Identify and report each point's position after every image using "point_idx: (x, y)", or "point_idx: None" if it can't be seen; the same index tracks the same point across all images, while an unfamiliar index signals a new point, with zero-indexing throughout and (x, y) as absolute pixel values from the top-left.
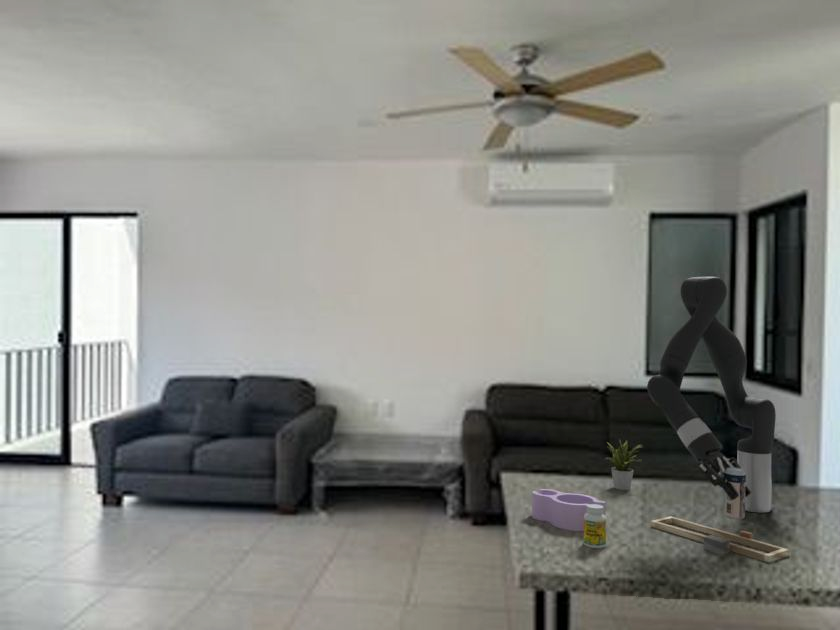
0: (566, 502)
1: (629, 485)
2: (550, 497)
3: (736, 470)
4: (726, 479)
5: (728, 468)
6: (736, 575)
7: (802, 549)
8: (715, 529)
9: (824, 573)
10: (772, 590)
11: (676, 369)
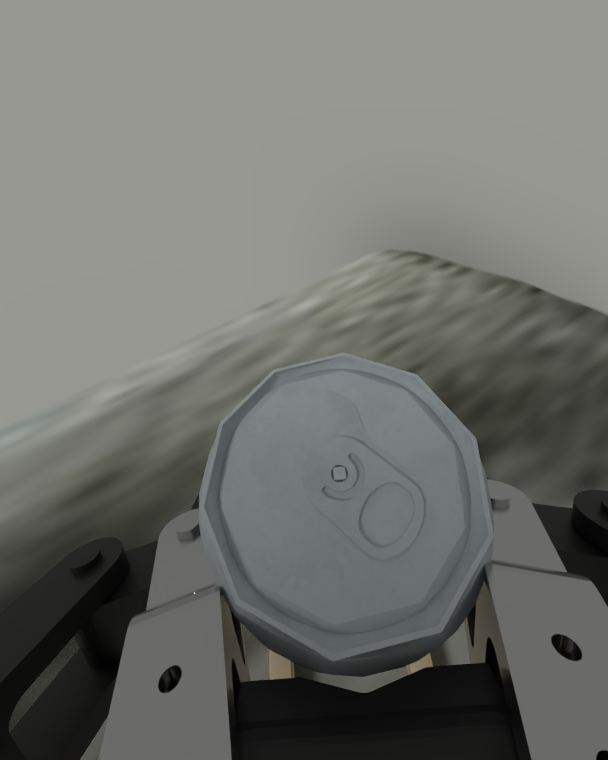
0: None
1: None
2: None
3: (379, 420)
4: (503, 494)
5: (375, 623)
6: (530, 352)
7: (179, 404)
8: (281, 676)
9: (310, 294)
10: (508, 277)
11: None
